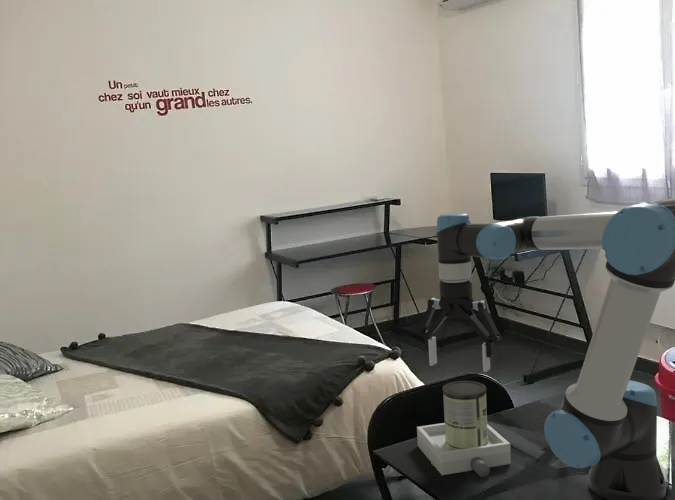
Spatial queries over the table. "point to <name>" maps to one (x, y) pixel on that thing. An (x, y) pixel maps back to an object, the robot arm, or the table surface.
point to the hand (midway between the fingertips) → (459, 367)
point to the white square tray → (462, 451)
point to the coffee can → (465, 414)
